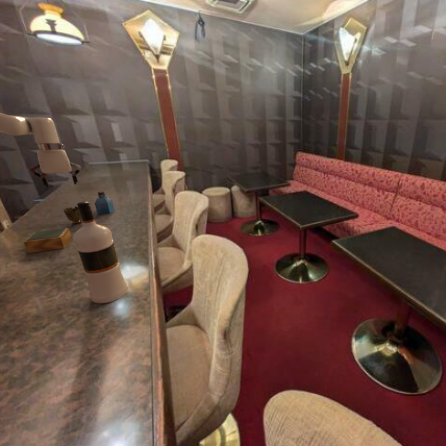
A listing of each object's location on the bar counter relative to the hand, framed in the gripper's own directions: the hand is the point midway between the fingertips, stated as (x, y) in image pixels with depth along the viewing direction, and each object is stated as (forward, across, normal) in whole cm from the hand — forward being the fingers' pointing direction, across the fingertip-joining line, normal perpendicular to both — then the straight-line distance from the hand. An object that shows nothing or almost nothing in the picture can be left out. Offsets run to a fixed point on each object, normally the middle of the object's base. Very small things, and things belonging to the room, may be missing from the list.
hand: (62, 185), depth 116 cm
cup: (+22, -1, -6) cm, 22 cm away
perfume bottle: (+22, -14, -18) cm, 31 cm away
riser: (+21, +8, +20) cm, 30 cm away
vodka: (+22, -8, +74) cm, 78 cm away
